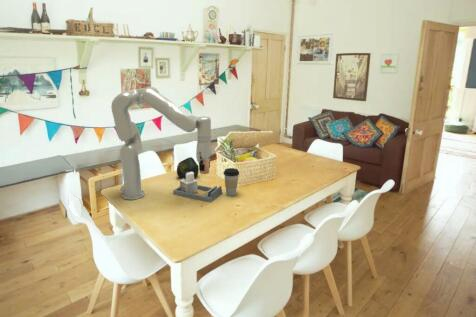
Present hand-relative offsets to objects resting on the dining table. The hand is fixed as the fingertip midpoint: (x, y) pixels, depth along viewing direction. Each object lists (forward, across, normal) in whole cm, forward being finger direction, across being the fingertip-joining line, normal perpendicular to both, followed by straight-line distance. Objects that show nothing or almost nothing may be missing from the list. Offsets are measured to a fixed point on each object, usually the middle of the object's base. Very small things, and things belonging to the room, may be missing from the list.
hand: (204, 168), depth 185 cm
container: (+17, 0, -11) cm, 20 cm away
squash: (+17, -21, -25) cm, 37 cm away
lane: (+17, 0, -5) cm, 17 cm away
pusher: (+17, 0, +5) cm, 17 cm away
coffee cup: (+17, -9, +13) cm, 23 cm away
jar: (+2, 0, 0) cm, 2 cm away
